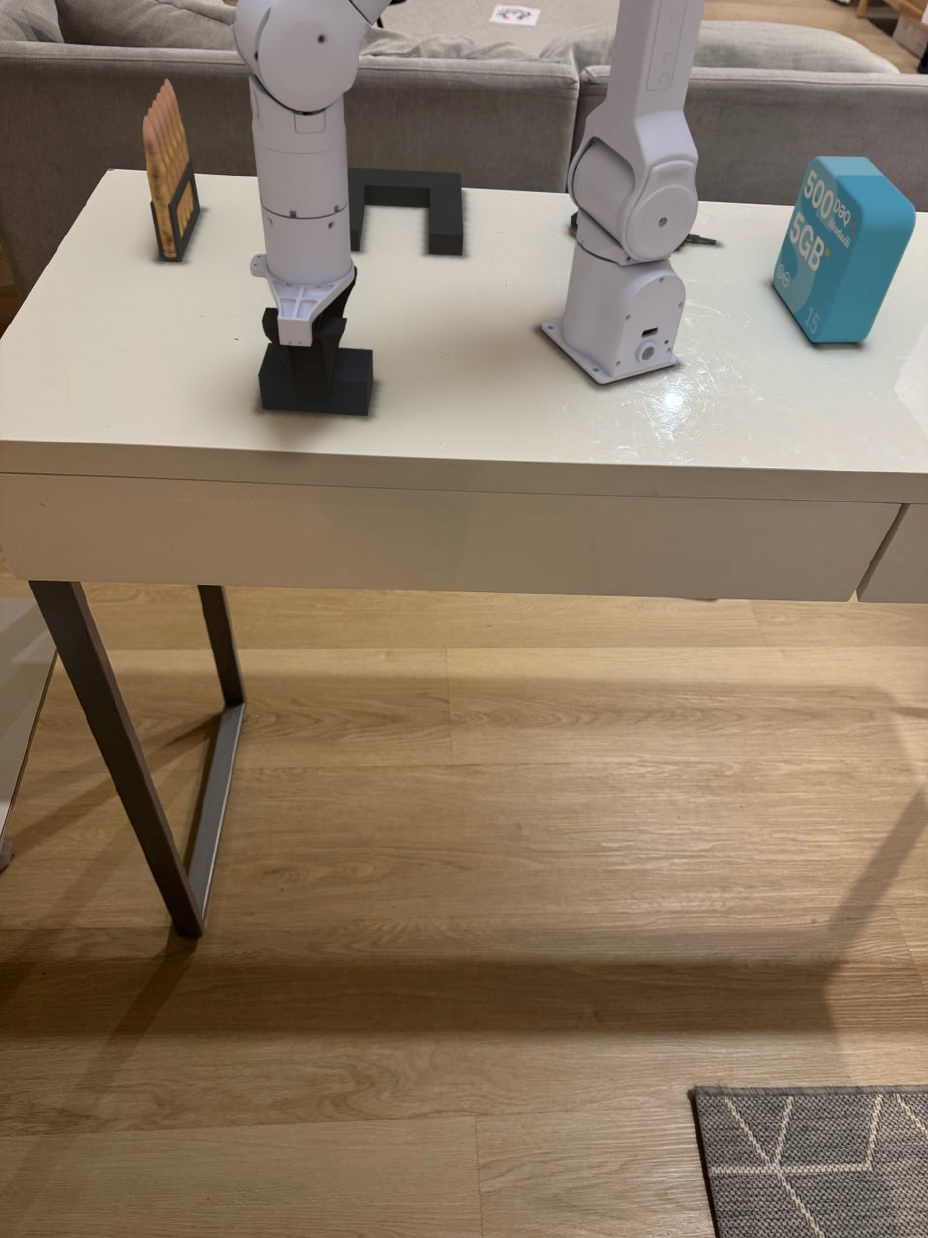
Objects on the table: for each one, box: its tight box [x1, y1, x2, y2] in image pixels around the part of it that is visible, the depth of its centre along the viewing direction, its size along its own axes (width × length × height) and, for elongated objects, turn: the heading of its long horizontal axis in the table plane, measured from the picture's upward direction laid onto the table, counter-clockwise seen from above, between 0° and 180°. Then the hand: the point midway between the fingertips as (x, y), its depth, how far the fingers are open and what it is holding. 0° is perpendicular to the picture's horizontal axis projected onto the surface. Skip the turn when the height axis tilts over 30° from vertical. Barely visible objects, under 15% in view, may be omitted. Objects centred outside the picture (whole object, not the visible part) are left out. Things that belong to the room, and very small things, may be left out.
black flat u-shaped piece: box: [347, 166, 464, 256], centre depth 90 cm, size 14×13×2 cm
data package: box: [773, 155, 917, 343], centre depth 78 cm, size 12×4×12 cm, turn 6°
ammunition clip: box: [142, 78, 201, 262], centre depth 82 cm, size 11×2×12 cm, turn 1°
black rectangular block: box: [257, 342, 374, 416], centre depth 69 cm, size 8×4×3 cm, turn 88°
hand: (318, 379), depth 69 cm, fingers closed on black rectangular block, 4 cm apart
